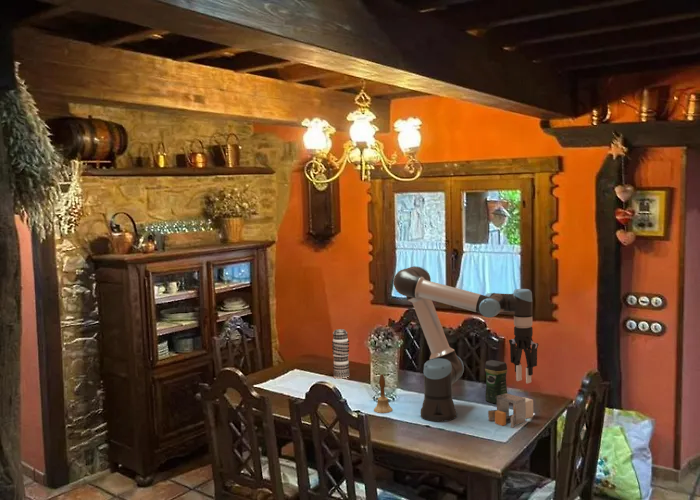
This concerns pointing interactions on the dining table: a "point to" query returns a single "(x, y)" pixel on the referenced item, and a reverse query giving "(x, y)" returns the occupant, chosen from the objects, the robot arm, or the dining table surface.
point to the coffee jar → (495, 380)
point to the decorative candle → (340, 354)
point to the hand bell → (382, 399)
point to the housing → (503, 406)
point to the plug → (502, 419)
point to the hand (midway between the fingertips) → (523, 381)
